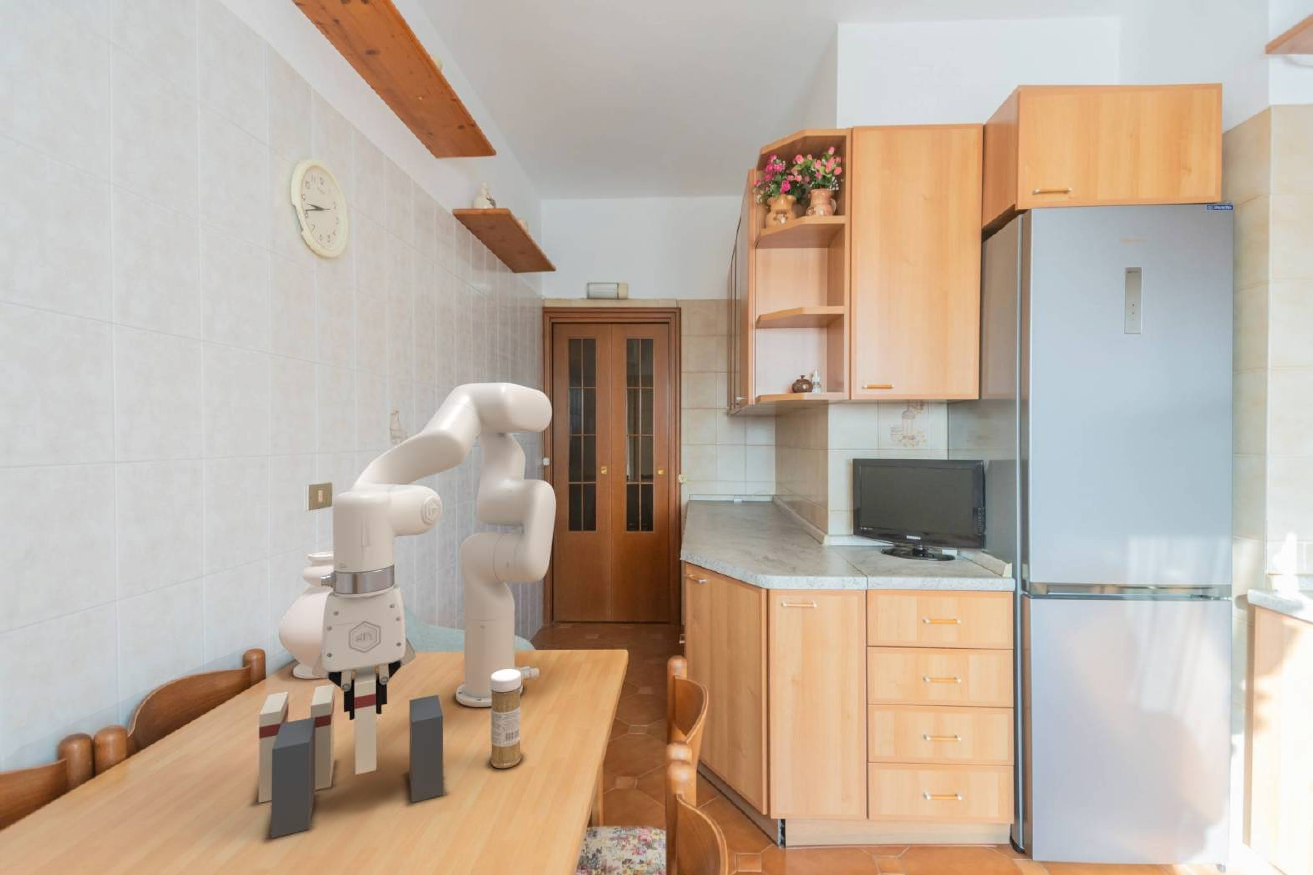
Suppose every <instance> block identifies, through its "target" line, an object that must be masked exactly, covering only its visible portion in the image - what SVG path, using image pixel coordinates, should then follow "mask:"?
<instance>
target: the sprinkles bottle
mask: <svg viewBox="0 0 1313 875" xmlns="http://www.w3.org/2000/svg"><path fill="white" fill-rule="evenodd" d="M520 685H521V673H520V672H519V671H518V670H515V669H504V670H499V671H497V672H495V673H493V674H492V675H491V679H490V688H491V691H492V706H490V724H491V725H490V737H491V738H490V741H491V742H490V743H491V758H490V763H491V765H492V766H493V767H495V768H497V769H508V768H511V767H514V766H516V765H517V764H518V763H519V762H520V761H521V759H522V754H521V694H520Z"/></svg>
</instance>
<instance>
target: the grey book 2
mask: <svg viewBox="0 0 1313 875" xmlns="http://www.w3.org/2000/svg"><path fill="white" fill-rule="evenodd" d="M408 708H409V709H408V710H409V713H408V714H409V715H408V716H409V718H408V721H409V723H408V725H409V726H408V730H409V733H408V735H409V736H408V737H409V738H408V744H409V746H408V747H409V749H408V750H409V751H408V752H409V754H408V757H409V758H408V760H409V761H408V765H409V766H408V769H409V770H408V775H409V786H410V800H411V803H412V804H413V803H418V802H421V801H426V800H429V799H433V798H436V797H441V796H443V795H444V713H443V709H442V705H441V701H440V696H439V694H435V695H429V696H425V697H424V696H423V697H418V698H412V699H409V706H408Z"/></svg>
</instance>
